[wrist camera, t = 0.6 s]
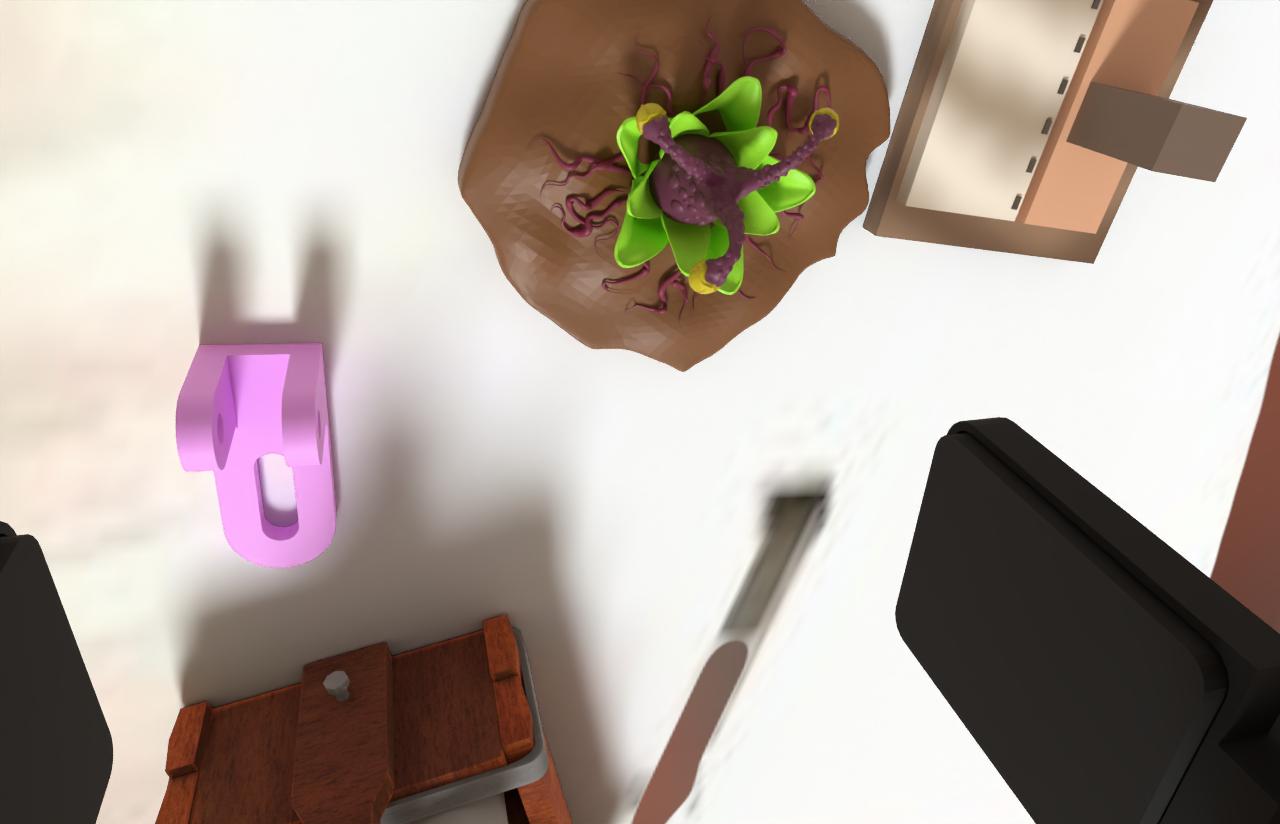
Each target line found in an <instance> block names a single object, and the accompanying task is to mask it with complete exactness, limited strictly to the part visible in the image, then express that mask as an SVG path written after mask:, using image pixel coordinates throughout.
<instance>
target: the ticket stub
mask: <svg viewBox="0 0 1280 824" xmlns="http://www.w3.org/2000/svg"><path fill="white" fill-rule="evenodd" d="M1198 5H1199V3H1198V2H1194V1H1191V0H1103V3H1102V5H1101V8H1100V10H1099V13H1098V15H1097V18H1096V20H1095V23H1094V25H1093V28H1092V30H1091V33H1090V35H1089V38H1088V40H1087V42H1086V45H1085V47H1084V50H1083V52H1082V55H1081V57H1080V60H1079V62H1078V65H1077V67H1076V70H1075V72H1074V75H1073V77H1072V80H1071V82H1070V85H1069V87H1068V90H1067V92H1066V95H1065V97H1064V100H1063V102H1062V105H1061V107H1060V110H1059V112H1058V115H1057V117H1056V120H1055V122H1054V125H1053V127H1052V130H1051V132H1050V135H1049V137H1048V140H1047V142H1046V144H1045V147H1044V149H1043V152H1042V154H1041V157H1040V159H1039V162H1038V164H1037V167H1036V169H1035V172H1034V174H1033V177H1032V179H1031V182H1030V184H1029V187H1028V189H1027V192H1026V194H1025V197H1024V199H1023V202H1022V204H1021V207H1020V209H1019V212H1018V214H1017V217H1016V220H1018V221H1020V222H1022V223H1024V224H1030V225H1037V226H1044V227H1051V228H1058V229H1065V230H1072V231H1079V232H1087V233H1094V234H1096V232H1097V230H1098V228H1099V225H1100V223H1101V221H1102V219H1103V217H1104V214H1105V212H1106V210H1107V208H1108V205H1109V203H1110V201H1111V199H1112V197H1113V194H1114V192H1115V190H1116V188H1117V185H1118V183H1119V181H1120V179H1121V176H1122V174H1123V172H1124V170H1125V168H1126V165H1127V163H1130V164H1133V165H1136V166H1139V167H1142V168H1145V169H1148V170H1150V171H1155V172H1161V173H1166V174H1172V175H1178V176H1183V177H1189V178H1195V179H1200V180H1206V181H1212V182H1215V181H1216V179H1217V177H1218V175H1219V173H1220V171H1221V169H1222V167H1223V165H1224V163H1225V161H1226V159H1227V157H1228V155H1229V153H1230V151H1231V149H1232V147H1233V145H1234V143H1235V141H1236V139H1237V137H1238V135H1239V133H1240V131H1241V129H1242V127H1243V125H1244V123H1245V121H1246V119H1247V118H1245V117H1241V116H1236V115H1232V114H1228V113H1224V112H1220V111H1216V110H1212V109H1208V108H1204V107H1200V106H1196V105H1192V104H1187V103H1183V102H1179V101H1175V100H1171V99H1167V98H1163V97H1159V96H1158V94H1159V92H1160V90H1161V87H1162V85H1163V83H1164V81H1165V78H1166V76H1167V74H1168V72H1169V70H1170V67H1171V65H1172V63H1173V61H1174V58H1175V56H1176V54H1177V52H1178V49H1179V47H1180V45H1181V43H1182V41H1183V38H1184V36H1185V34H1186V32H1187V29H1188V27H1189V25H1190V23H1191V21H1192V18H1193V16H1194V14H1195V12H1196V9H1197V7H1198Z"/></svg>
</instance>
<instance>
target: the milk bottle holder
mask: <svg viewBox="0 0 1280 824" xmlns="http://www.w3.org/2000/svg"><path fill="white" fill-rule="evenodd" d="M483 627H484V630H482V631H478V632H475V633H471V634H468V635H465V636H461V637H458V638H454V639H451V640H447V641H444V642H441V643H437V644H434V645H430V646H427V647H423V648H420V649H417V650H413V651H410V652H406V653H403V654H399V655H396V656H393V657H392V656H391V653H390V651H389V649H388V646H387V644H386V642H384V643H381V644H377V645H374V646H370V647H367V648H364V649H360V650H357V651H353V652H350V653H346V654H343V655H339V656H336V657H332V658H329V659H325V660H322V661H319V662H315V663H312V664H308V665H305V666H304V668H303V678H302V683H300V684H297V685H293V686H290V687H286V688H283V689H279V690H276V691H273V692H269V693H266V694H262V695H259V696H255V697H252V698H249V699H245V700H242V701H238V702H235V703H231V704H228V705H225V706H221V707H218V708H214V709H211V707H210V706H209V704H208V702H203V703H200V704H196V705H193V706H189V707H186V708H182V709H180V712H179V714H178V717H177V720H176V723H175V725H174V728H173V731H172V733H171V736H170V739H169V744H168V753H167V761H166V769H165V772H166V773H167V775H168V776H169V777H170V778H169V782H168V786H167V790H166V793H165V796H164V799H163V802H162V805H161V808H160V811H159V814H158V817H157V820H156V823H155V824H572V821H571V818H570V815H569V812H568V808H567V805H566V802H565V799H564V795H563V792H562V789H561V786H560V782H559V779H558V776H557V773H556V769H555V766H554V763H553V760H552V757H551V753H550V750H549V747H548V744H547V740H546V737H545V734H544V731H543V727H542V724H541V719H540V714H539V709H538V704H537V699H536V694H535V689H534V684H533V679H532V674H531V669H530V665H529V660H528V655H527V651H526V647H525V644H524V641H523V637H522V634H521V632H520V631H519V630H518V629H516V628H514V627H511V626H510V623H509V620H508V617H507V614H506V615H503V616H499V617H496V618H493V619H489V620H486V621H483ZM515 638H516V640H515Z"/></svg>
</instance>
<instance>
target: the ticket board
mask: <svg viewBox="0 0 1280 824" xmlns="http://www.w3.org/2000/svg"><path fill="white" fill-rule="evenodd" d="M1191 1H1194V2H1198V3H1199V5H1198V7H1197V9H1196V12H1195V14H1194V16H1193V18H1192V21H1191V23H1190V25H1189V27H1188V29H1187V32H1186V34H1185V36H1184V38H1183V41H1182V43H1181V45H1180V47H1179V49H1178V52H1177V54H1176V56H1175V58H1174V61H1173V63H1172V65H1171V67H1170V70H1169V72H1168V74H1167V76H1166V78H1165V81H1164V83H1163V85H1162V87H1161V90H1160V92H1159V94H1158V96H1159V97H1163V98H1167V99H1169V96H1170V94H1171V92H1172V90H1173V88H1174V85H1175V83H1176V81H1177V79H1178V77H1179V74H1180V72H1181V70H1182V68H1183V66H1184V63H1185V61H1186V59H1187V57H1188V55H1189V52H1190V50H1191V48H1192V46H1193V44H1194V41H1195V39H1196V37H1197V35H1198V33H1199V30H1200V28H1201V26H1202V24H1203V22H1204V19H1205V17H1206V15H1207V13H1208V11H1209V8H1210V6H1211V4H1212V2H1213V0H1191ZM1102 3H1103V0H935V3H934V6H933V9H932V12H931V15H930V19H929V22H928V25H927V28H926V31H925V34H924V37H923V40H922V44H921V47H920V50H919V53H918V56H917V59H916V62H915V65H914V68H913V72H912V75H911V78H910V81H909V84H908V87H907V90H906V93H905V97H904V100H903V103H902V106H901V109H900V112H899V115H898V118H897V122H896V125H895V128H894V131H893V134H892V137H891V140H890V143H889V146H888V150H887V153H886V156H885V159H884V162H883V165H882V168H881V171H880V175H879V178H878V181H877V184H876V187H875V190H874V193H873V196H872V200H871V203H870V206H869V209H868V212H867V215H866V218H865V221H864V224H863V228H865V229H866V230H868V231H869V232H871V233H872V234H874V235H875V236H882V237H889V238H897V239H905V240H913V241H921V242H928V243H936V244H944V245H952V246H960V247H968V248H975V249H983V250H991V251H999V252H1007V253H1014V254H1022V255H1030V256H1038V257H1046V258H1054V259H1061V260H1069V261H1077V262H1085V263H1094V261H1095V259H1096V257H1097V255H1098V252H1099V250H1100V248H1101V246H1102V244H1103V241H1104V239H1105V237H1106V235H1107V233H1108V230H1109V228H1110V226H1111V224H1112V222H1113V219H1114V217H1115V215H1116V213H1117V211H1118V208H1119V206H1120V204H1121V202H1122V200H1123V197H1124V195H1125V193H1126V191H1127V189H1128V186H1129V184H1130V182H1131V180H1132V178H1133V175H1134V173H1135V171H1136V169H1137V167H1138V166H1136V165H1133V164H1130V163H1127V165H1126V168H1125V170H1124V172H1123V174H1122V176H1121V179H1120V181H1119V183H1118V185H1117V188H1116V190H1115V192H1114V194H1113V197H1112V199H1111V201H1110V203H1109V205H1108V208H1107V210H1106V212H1105V214H1104V217H1103V219H1102V221H1101V223H1100V225H1099V228H1098V230H1097V232H1096V234H1094V233H1087V232H1079V231H1072V230H1065V229H1058V228H1051V227H1044V226H1037V225H1030V224H1024V223H1022V222H1020V221H1018V220H1016V217H1017V214H1018V212H1019V209H1020V207H1021V204H1022V202H1023V199H1024V197H1025V194H1026V192H1027V189H1028V187H1029V184H1030V182H1031V179H1032V177H1033V174H1034V172H1035V169H1036V167H1037V164H1038V162H1039V159H1040V157H1041V154H1042V152H1043V149H1044V147H1045V144H1046V142H1047V140H1048V137H1049V135H1050V132H1051V130H1052V127H1053V125H1054V122H1055V120H1056V117H1057V115H1058V112H1059V110H1060V107H1061V105H1062V102H1063V100H1064V97H1065V95H1066V92H1067V90H1068V87H1069V85H1070V82H1071V80H1072V77H1073V75H1074V72H1075V70H1076V67H1077V65H1078V62H1079V60H1080V57H1081V55H1082V52H1083V50H1084V47H1085V45H1086V42H1087V40H1088V38H1089V35H1090V33H1091V30H1092V28H1093V25H1094V23H1095V20H1096V18H1097V15H1098V13H1099V10H1100V8H1101V5H1102Z"/></svg>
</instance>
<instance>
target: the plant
mask: <svg viewBox="0 0 1280 824" xmlns="http://www.w3.org/2000/svg"><path fill="white" fill-rule="evenodd" d="M889 135H890V107H889V101H888V94H887V90H886V86H885V83H884V80H883V77H882V75H881V73H880V71H879V69H878V68H877V66H876V65H875V63H874V62H873V61H872V60H871V59H870V58H869V57H868V56H867V55H866V54H865V53H864V52H863V51H862V50H861V49H860V48H859V47H857V46H856V45H855V44H854V43H852V42H851V41H850V40H848V39H847V38H845V37H844V36H842V35H841V34H840V33H838V32H837V31H835V30H834V29H832V28H831V27H829V26H828V25H826V24H825V23H824V22H823V21H822V20H820V19H819V18H818V17H817V16H816V15H815V14H814V13H813V12H812V11H811V10H810V9H809V8H808V7H807V6H806V5H805V4H804V2H803V1H802V0H527V2H526V3H525V5H524V6H523V8H522V10H521V12H520V14H519V17H518V20H517V23H516V26H515V29H514V31H513V34H512V37H511V39H510V41H509V44H508V46H507V48H506V50H505V53H504V55H503V57H502V60H501V62H500V65H499V67H498V70H497V72H496V75H495V78H494V80H493V83H492V86H491V88H490V91H489V94H488V97H487V99H486V102H485V105H484V107H483V110H482V112H481V115H480V117H479V119H478V121H477V123H476V125H475V127H474V129H473V132H472V134H471V137H470V139H469V141H468V144H467V147H466V149H465V152H464V155H463V158H462V161H461V164H460V168H459V171H458V185H459V188H460V192H461V195H462V198H463V199H464V200H465V202H466V203H467V205H468V206H469V207H470V209H471V210H472V212H473V214H474V215H475V217H476V218H477V219H478V221H479V222H480V224H481V225H482V227H483V228H484V230H485V231H486V233H487V235H488V236H489V238H490V240H491V242H492V244H493V246H494V249H495V253H496V256H497V259H498V262H499V264H500V267H501V269H502V271H503V273H504V274H505V276H506V278H507V279H508V280H509V282H510V283H511V284H512V286H513V287H514V288H515V289H516V290H517V292H518V293H519V294H520V295H521V297H522V298H523V299H524V300H525V301H526V302H527V303H528V304H529V305H530V306H532V307H533V308H534V309H536V310H537V311H539V312H540V313H541V314H543V315H544V316H546V317H547V318H549V319H550V320H552V321H553V322H554V323H556V324H557V325H558V326H559V327H561V328H562V329H563V330H565V331H566V332H567V333H569V334H570V335H571V336H573V337H574V338H575V339H577V340H578V341H580V342H581V343H583V344H584V345H586V346H588V347H590V348H592V349H626V350H631V351H634V352H637V353H640V354H643V355H645V356H648V357H650V358H653V359H655V360H658V361H660V362H663V363H666V364H668V365H670V366H672V367H674V368H675V369H677V370H679V371H681V372H685V371H687V370H688V369H690V368H691V367H693V366H694V365H695V364H697V363H699V362H701V361H703V360H704V359H706V358H708V357H710V356H712V355H713V354H715V353H716V352H717V351H719V350H720V349H722V348H723V347H724V346H725V345H726V344H727V343H728V342H730V341H731V340H732V339H733V338H734V337H736V336H737V335H738V334H740V333H741V332H742V331H743V330H745V329H747V328H748V327H750V326H752V325H753V324H755V323H757V322H758V321H760V320H761V319H763V318H764V317H765V316H767V315H768V314H769V313H770V312H771V311H772V310H773V309H774V308H775V307H776V306H777V304H778V303H779V302H780V301H781V300H782V298H783V297H784V295H785V294H786V293H787V292H788V290H789V289H790V288H791V286H792V285H793V283H794V282H795V281H796V279H797V278H798V276H799V275H800V274H801V273H802V272H803V271H804V270H805V269H806V268H807V267H809V266H810V265H812V264H814V263H816V262H818V261H820V260H822V259H826V258H830V257H833V256H835V254H836V247H837V241H838V238H839V235H840V233H841V232H842V230H843V229H844V228H845V227H846V226H847V225H848V224H849V223H850V222H851V221H853V220H854V219H855V218H856V217H858V216H859V215H861V214H862V213H863V211H864V210H865V209H866V207H867V205H868V201H869V192H868V184H867V180H866V160H867V157H868V156H869V154H870V153H871V152H872V151H873V150H874V149H875V148H877V147H878V146H879V145H881V144H882V143H883V142H885V141H886V140H887V139H888V138H889Z"/></svg>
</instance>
